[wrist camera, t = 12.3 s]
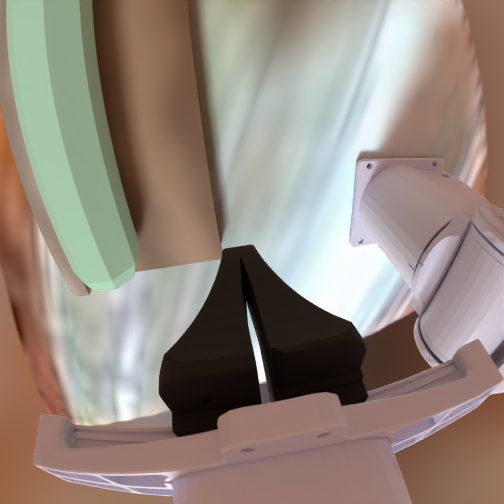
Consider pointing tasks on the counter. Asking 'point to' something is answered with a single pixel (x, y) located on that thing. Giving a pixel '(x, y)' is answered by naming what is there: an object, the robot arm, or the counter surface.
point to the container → (70, 137)
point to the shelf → (140, 133)
